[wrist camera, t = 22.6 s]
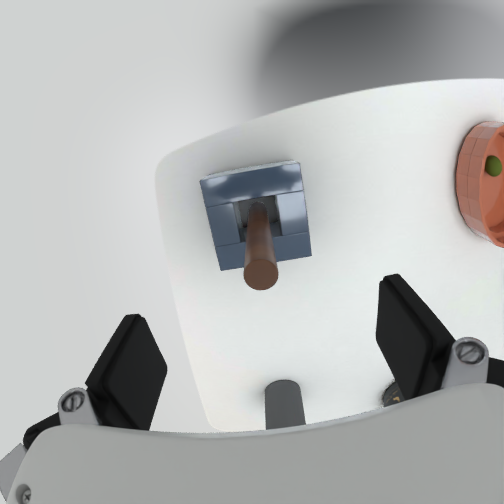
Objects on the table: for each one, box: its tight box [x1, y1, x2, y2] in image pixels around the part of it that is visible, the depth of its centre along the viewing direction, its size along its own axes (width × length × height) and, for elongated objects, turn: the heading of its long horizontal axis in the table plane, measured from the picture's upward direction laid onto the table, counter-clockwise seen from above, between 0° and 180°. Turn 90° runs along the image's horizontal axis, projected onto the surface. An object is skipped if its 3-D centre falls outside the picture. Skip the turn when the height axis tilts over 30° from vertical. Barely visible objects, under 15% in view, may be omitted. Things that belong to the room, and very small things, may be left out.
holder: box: [200, 160, 312, 271], centre depth 29 cm, size 9×9×5 cm
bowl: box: [456, 122, 504, 248], centre depth 26 cm, size 17×17×6 cm
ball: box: [484, 155, 502, 177], centre depth 26 cm, size 3×3×3 cm
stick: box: [244, 202, 278, 290], centre depth 24 cm, size 2×2×16 cm
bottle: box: [265, 380, 306, 430], centre depth 35 cm, size 6×6×15 cm
